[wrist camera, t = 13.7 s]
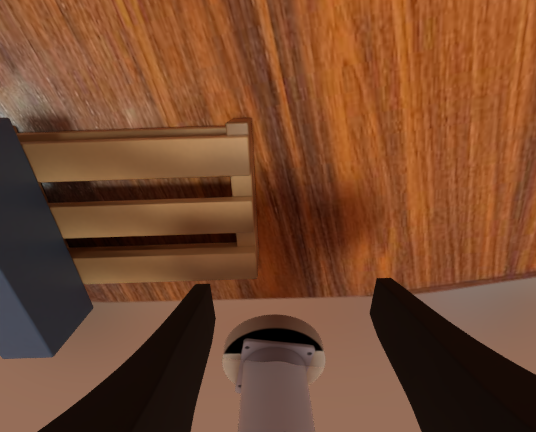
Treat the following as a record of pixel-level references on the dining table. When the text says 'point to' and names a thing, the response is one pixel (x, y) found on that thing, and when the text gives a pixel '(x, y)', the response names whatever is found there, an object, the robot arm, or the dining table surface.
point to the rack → (154, 200)
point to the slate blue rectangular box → (33, 263)
